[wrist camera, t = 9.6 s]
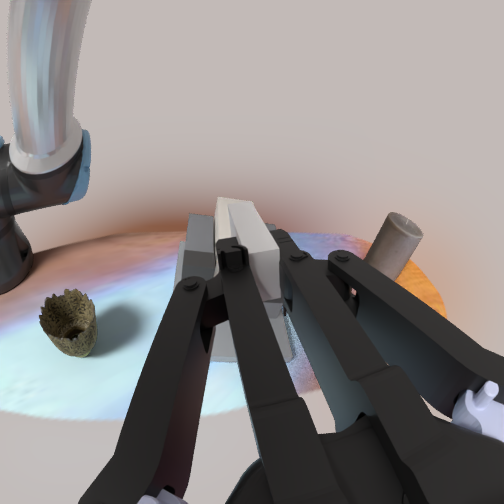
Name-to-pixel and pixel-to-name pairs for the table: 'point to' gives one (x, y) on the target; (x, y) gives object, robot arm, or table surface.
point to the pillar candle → (394, 245)
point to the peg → (222, 224)
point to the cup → (70, 322)
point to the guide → (203, 265)
